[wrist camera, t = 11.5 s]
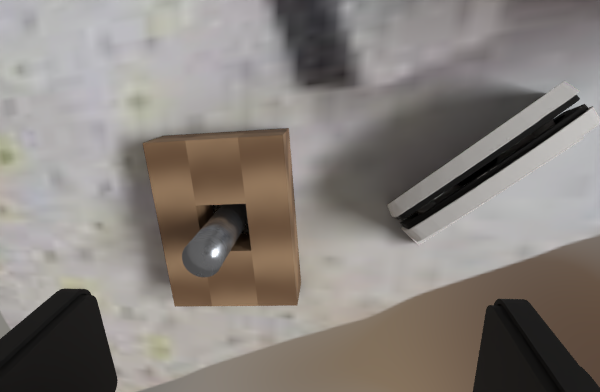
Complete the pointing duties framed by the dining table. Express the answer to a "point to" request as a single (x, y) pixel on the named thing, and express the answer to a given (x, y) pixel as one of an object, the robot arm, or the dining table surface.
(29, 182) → the dining table surface
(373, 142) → the dining table surface
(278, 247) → the block with square hole
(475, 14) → the dining table surface
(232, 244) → the pin
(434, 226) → the grey half-round piece
